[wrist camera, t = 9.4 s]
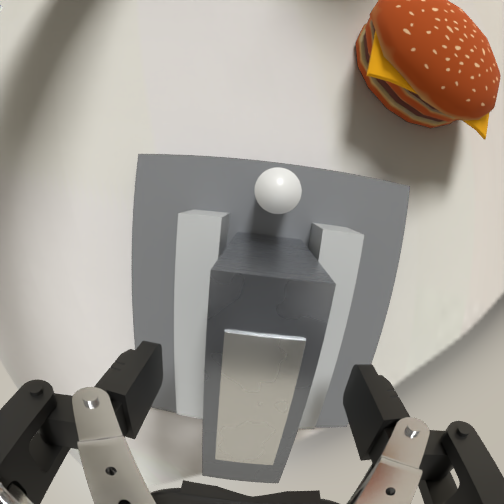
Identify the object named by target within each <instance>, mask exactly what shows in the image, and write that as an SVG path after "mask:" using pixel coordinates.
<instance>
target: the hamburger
mask: <svg viewBox="0 0 504 504" xmlns="http://www.w3.org/2000/svg"><path fill="white" fill-rule="evenodd" d="M356 52H357V64H358V68H359V70H360V72H361V74H362V76H363V78H364V80H365V82H366V84H367V86H368V88H369V89H370V90H371V91H372V92H373V93H374V94H375V96H376V97H377V98H378V99H379V100H380V101H381V102H382V103H383V105H384V106H385V107H386V108H387V109H389V110H390V111H392V112H393V113H395V114H396V115H398V116H399V117H401V118H402V119H404V120H405V121H407V122H410V123H414V124H418V125H422V126H426V127H429V128H433V127H438V126H442V125H447V124H450V123H452V122H453V121H456V120H462V121H464V122H465V123H467V124H468V125H469V126H471V127H472V128H474V129H475V130H476V131H477V132H478V133H479V134H480V135H481V136H482V137H483V139H485V138H486V133H487V126H488V118H489V112H490V111H491V110H492V109H493V108H494V106H495V102H496V97H497V93H498V88H499V82H500V72H499V69H498V66H497V63H496V60H495V57H494V55H493V52H492V50H491V47H490V45H489V42H488V40H487V38H486V37H485V35H484V34H483V33H482V32H481V31H480V29H479V28H478V27H477V26H476V25H475V23H474V22H473V21H472V20H471V19H470V18H469V17H468V15H467V14H466V13H465V12H464V11H463V10H462V9H461V8H459V7H457V6H456V5H454V4H453V3H451V2H449V1H448V0H378V2H377V4H376V5H375V7H374V8H373V10H372V12H371V13H370V18H369V20H368V22H367V24H365V25H364V26H363V28H362V30H361V32H360V34H359V36H358V39H357V41H356Z"/></svg>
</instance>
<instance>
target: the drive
mask: <svg viewBox="0 0 504 504" xmlns="http://www.w3.org/2000/svg"><path fill="white" fill-rule="evenodd" d="M335 287H336V284H335V282H334V281H333V280H332V278H331V277H330V276H329V274H328V273H327V272H326V271H325V269H324V268H323V267H322V265H321V264H320V263H319V262H318V260H317V259H316V258H315V256H314V255H313V254H312V253H311V251H310V250H309V249H308V248H307V246H306V245H305V244H304V242H303V241H302V240H301V239H294V238H286V237H278V236H269V235H261V234H253V233H244V232H237V233H236V234H235V236H234V237H233V239H232V240H231V241H230V243H229V244H228V246H227V247H226V248H225V250H224V251H223V253H222V254H221V256H220V257H219V258H218V260H217V261H216V263H215V264H214V265H213V267H212V268H211V271H210V284H209V298H208V313H207V329H206V347H205V369H204V396H203V447H202V475H203V476H209V477H216V478H223V479H230V480H239V481H251V482H264V483H279V480H280V478H281V475H282V473H283V470H284V467H285V465H286V462H287V459H288V457H289V454H290V451H291V448H292V445H293V443H294V440H295V437H296V434H297V431H298V428H299V425H300V422H301V419H302V416H303V412H304V409H305V406H306V403H307V399H308V396H309V393H310V389H311V386H312V382H313V379H314V375H315V372H316V368H317V364H318V360H319V357H320V353H321V349H322V345H323V341H324V337H325V332H326V328H327V324H328V320H329V315H330V311H331V306H332V301H333V297H334V292H335Z"/></svg>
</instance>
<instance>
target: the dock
mask: <svg viewBox="0 0 504 504" xmlns="http://www.w3.org/2000/svg"><path fill="white" fill-rule="evenodd" d="M409 191H410V186H407V185H402V184H398V183H394V182H389V181H385V180H380V179H375V178H370V177H365V176H360V175H355V174H349V173H344V172H338V171H332V170H326V169H320V168H313V167H306V166H299V165H292V164H284V163H276V162H267V161H258V160H248V159H237V158H225V157H211V156H194V155H170V154H138V162H137V171H136V181H135V193H134V208H133V227H132V306H133V325H134V339H135V350H136V349H137V347H138V346H139V345H140V344H141V342H142V341H149V342H153V343H158V344H161V346H162V360H163V381H162V385H161V388H160V390H159V392H158V394H157V396H156V398H155V400H154V402H153V404H152V406H151V407H153V408H157V409H161V410H166V411H170V412H175V413H177V414H178V415H182V416H188V417H193V418H198V419H203V396H204V369H205V347H206V329H207V313H208V298H209V284H210V271H211V268H212V267H213V265H214V264H215V263H216V261H217V260H218V258H219V257H220V256H221V254H222V253H223V251H224V250H225V248H226V247H227V246H228V244H229V243H230V241H231V240H232V239H233V237H234V236H235V234H236V233H237V232H244V233H253V234H261V235H269V236H278V237H286V238H294V239H301V240H302V241H303V242H304V244H305V245H306V246H307V248H308V249H309V250H310V251H311V253H312V254H313V255H314V256H315V258H316V259H317V260H318V262H319V263H320V264H321V265H322V267H323V268H324V269H325V271H326V272H327V273H328V274H329V276H330V277H331V278H332V280H333V281H334V282H335V284H336V287H335V292H334V297H333V301H332V306H331V311H330V315H329V320H328V324H327V328H326V332H325V337H324V341H323V345H322V349H321V353H320V357H319V360H318V364H317V368H316V372H315V375H314V379H313V382H312V386H311V389H310V393H309V396H308V399H307V403H306V406H305V409H304V412H303V416H302V419H301V422H300V425H299V428H298V429H314V428H319V427H347V424H348V422H349V421H348V418H347V415H346V412H345V409H344V406H343V394H344V391H345V388H346V385H347V382H348V379H349V376H350V373H351V370H352V368H353V366H354V365H355V364H371V363H372V360H373V357H374V354H375V351H376V348H377V345H378V342H379V338H380V335H381V332H382V328H383V325H384V321H385V318H386V314H387V310H388V307H389V303H390V299H391V295H392V290H393V286H394V282H395V277H396V273H397V268H398V263H399V258H400V253H401V247H402V242H403V236H404V229H405V223H406V216H407V208H408V200H409Z"/></svg>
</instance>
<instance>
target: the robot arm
mask: <svg viewBox="0 0 504 504" xmlns="http://www.w3.org/2000/svg"><path fill="white" fill-rule="evenodd" d="M162 381H163V360H162V346H161V344H158V343H153V342H149V341H142V342H141V344H140V345H139V346H138V347H137V349H136V350H132V349H130V350H128V351H126V352H124V353H122V354H121V355H120V356H119V357H118V358H117V360H116V361H115V363H113V364H112V366H111V368H109V369H108V371H107V372H106V373H105V374H104V375H103V377H102V378H101V379H100V380H99V382H98V383H97V384H96V385H95V387H86V388H82V389H80V390H78V391H77V392H76V393H75V394H74V395H73V396H69V395H62V394H55V393H54V391H53V388H52V386H51V385H50V384H49V383H48V382H46V381H43V380H32V381H29V382H27V383H25V384H24V385H23V386H22V387H21V388H20V389H19V390H18V391H17V392H16V393H15V395H14V396H13V397H12V398H11V399H10V400H9V401H8V402H7V403H6V404H5V405H4V406H3V407H2V409H1V410H0V504H40V503H41V501H42V499H43V497H44V495H45V493H46V491H47V490H48V488H49V486H50V484H51V482H52V480H53V478H54V476H55V475H56V473H57V471H58V469H59V467H60V466H61V464H62V462H63V460H64V458H65V457H66V455H67V453H68V451H69V450H70V448H74V449H79V454H80V458H81V462H82V465H83V469H84V472H85V476H86V480H87V483H88V486H89V489H90V492H91V495H92V498H93V501H94V504H339V503H336V502H333V501H330V500H325V499H320V492H319V491H287V492H281V493H275V494H269V495H263V496H255V497H251V496H246V495H243V494H239V493H236V492H233V491H230V490H227V489H223V488H220V487H218V486H212V485H206V484H200V483H194V482H189V481H184V480H183V483H182V487H181V488H171V489H163V490H158V491H154V492H151V493H150V492H149V490H148V488H147V486H146V484H145V482H144V480H143V478H142V476H141V473H140V471H139V469H138V467H137V465H136V463H135V460H134V458H133V456H132V454H131V451H130V449H129V446H128V444H127V442H126V439H125V436H126V437H129V438H132V439H135V438H136V436H137V434H138V432H139V430H140V428H141V426H142V424H143V422H144V420H145V418H146V416H147V414H148V412H149V410H150V408H151V406H152V404H153V402H154V400H155V398H156V396H157V394H158V392H159V390H160V388H161V385H162ZM343 406H344V409H345V412H346V415H347V418H348V421H349V424H350V427H351V430H352V434H353V437H354V440H355V443H356V446H357V449H358V453H359V456H360V459H361V460H370V459H371V460H372V465H371V466H370V468H369V470H368V471H367V473H366V475H365V476H364V478H363V480H362V481H361V483H360V485H359V486H358V488H357V489H356V491H355V492H354V494H353V496H352V497H351V499H350V500H349V501H348V503H347V504H411V501H412V499H413V497H414V494H415V492H416V489H417V486H419V489H420V492H421V495H422V498H423V501H424V504H504V478H503V476H502V474H501V472H500V471H499V469H498V467H497V465H496V464H495V462H494V460H493V458H492V457H491V455H490V453H489V452H488V451H487V448H486V447H485V445H484V444H483V442H482V440H481V439H480V437H479V436H478V435H477V432H476V431H475V429H474V428H473V427H472V426H471V425H470V424H468V423H466V422H462V421H455V422H452V423H451V424H450V425H449V426H448V428H447V429H446V431H434V430H429V428H428V426H427V425H426V424H425V423H424V422H423V421H421V420H420V419H417V418H412V417H410V416H409V414H408V412H407V411H406V409H405V407H404V405H403V403H402V402H401V400H400V398H399V397H398V395H397V393H396V392H395V391H394V388H393V386H392V385H391V383H390V382H389V381H388V380H387V379H386V378H384V377H383V376H382V375H378V374H377V372H376V370H375V368H374V367H373V365H371V364H355V365H354V366H353V368H352V370H351V373H350V376H349V379H348V382H347V385H346V388H345V391H344V394H343ZM37 431H38V432H37ZM32 438H33V439H32ZM30 441H31V442H30ZM453 468H454V469H455V471H456V473H457V476H458V478H459V481H460V485H459V488H458V489H457V486H456V484H455V482H454V479H453V477H452V475H451V473H450V471H451V470H452V469H453Z"/></svg>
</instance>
